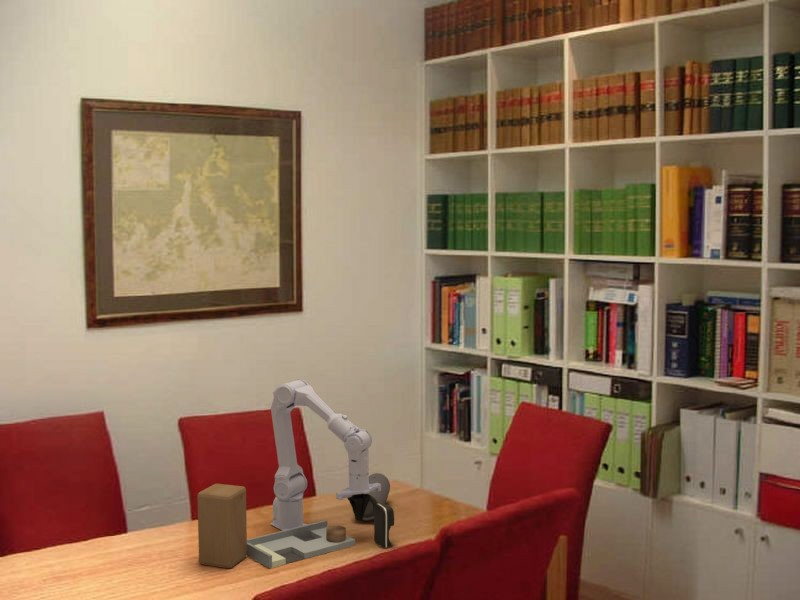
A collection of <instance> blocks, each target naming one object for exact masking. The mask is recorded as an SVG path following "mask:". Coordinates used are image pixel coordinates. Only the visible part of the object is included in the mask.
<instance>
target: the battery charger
mask: <svg viewBox="0 0 800 600" xmlns="http://www.w3.org/2000/svg"><path fill="white" fill-rule="evenodd" d="M394 525H395V511H394V508H393V507H392V506H390V505H389V504H387V503H382V504H376V505H375V506H374V518H373V529H374V533H373V534H374V535H373V536H374V537H373V540H374V542H375V543H376V544H377V545H379V546H380V547H381V548H383V549H386V548H390V547H392V546H393V543H392V542H391V541H390V529H391V527H393V526H394Z"/></svg>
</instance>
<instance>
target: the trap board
mask: <svg viewBox="0 0 800 600" xmlns="http://www.w3.org/2000/svg"><path fill="white" fill-rule="evenodd" d="M328 527H329V526H328V520H321V521H318V522H313V523H309V524H308V523H307V525H304V526H300V527H296V528H292V529H288V530H284V531H282V530H280V531H277V532H272V533H267V534H264V535H260V536H255V537H252V538H248V539H247V556H246V557H248V558H250V559H252V560H254V561H256V562H258V563H259V564H261V565H263V566H264V565H265V566H264V567H267V568H268V569H273V568H276V567H281V566H285V565H287V564H291V563H295V562H299V561H303V560H306V559H310V558H313V557H317V556H320V555H324V554H328V553H332V552H335V551H339V549H340V550H343V549H346V548H347V549H348V548H351V547H354V546H356V539H355V538H352V537H350V536H348V535H346V540H345V541H343V542H338V543H333V542H328V541H327V540H326V529H327V528H328Z"/></svg>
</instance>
